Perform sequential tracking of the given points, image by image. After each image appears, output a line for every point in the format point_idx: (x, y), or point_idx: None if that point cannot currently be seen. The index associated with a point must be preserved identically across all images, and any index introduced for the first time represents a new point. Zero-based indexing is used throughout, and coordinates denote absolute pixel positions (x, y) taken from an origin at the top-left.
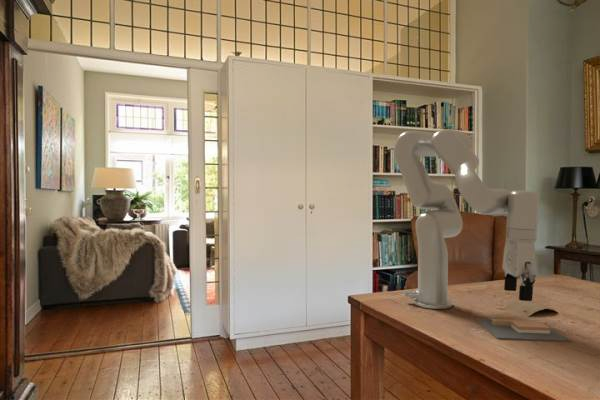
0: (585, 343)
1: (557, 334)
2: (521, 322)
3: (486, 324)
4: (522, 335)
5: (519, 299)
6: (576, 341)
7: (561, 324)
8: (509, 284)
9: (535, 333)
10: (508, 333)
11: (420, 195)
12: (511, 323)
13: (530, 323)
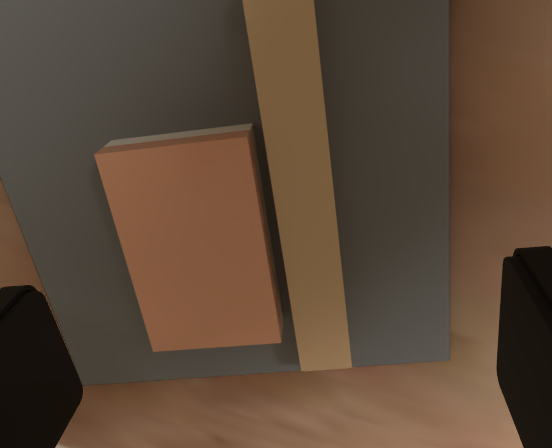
0: (89, 427)
1: (162, 358)
2: (218, 208)
3: None
4: (49, 149)
5: (16, 286)
6: (104, 403)
7: (408, 442)
8: (534, 365)
9: None
10: (54, 56)
11: None
12: (231, 133)
13: (212, 264)
